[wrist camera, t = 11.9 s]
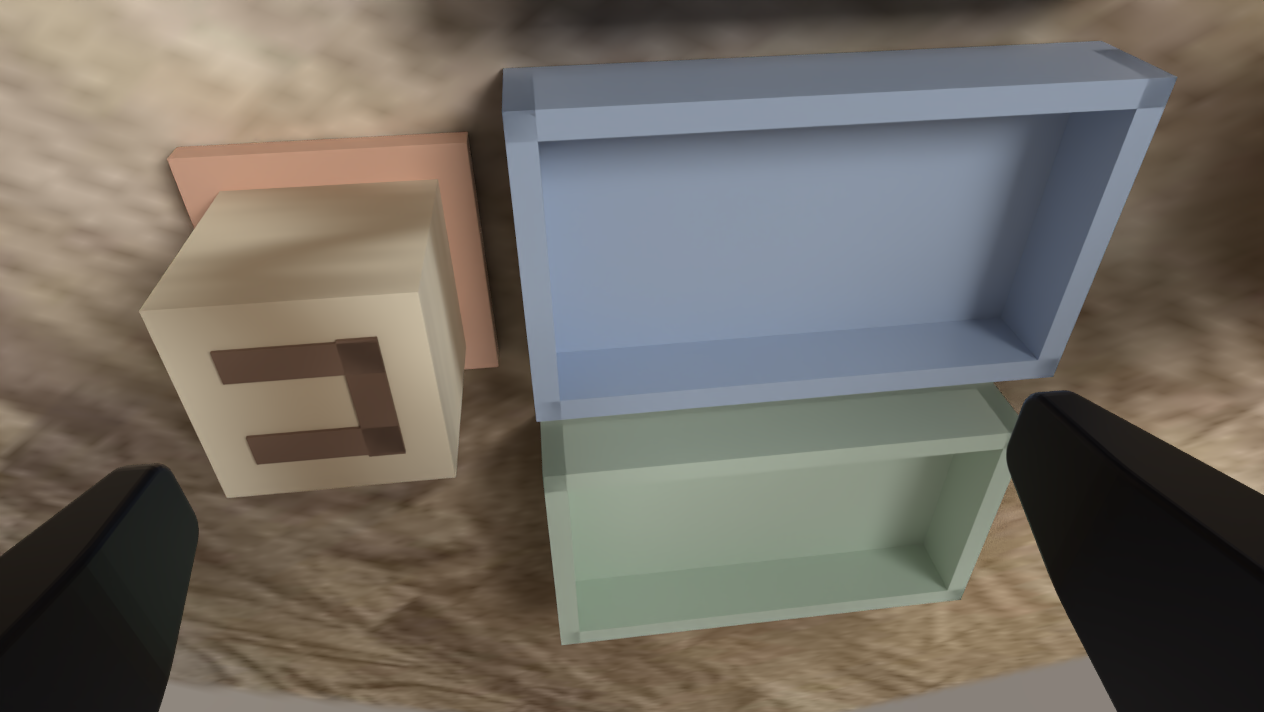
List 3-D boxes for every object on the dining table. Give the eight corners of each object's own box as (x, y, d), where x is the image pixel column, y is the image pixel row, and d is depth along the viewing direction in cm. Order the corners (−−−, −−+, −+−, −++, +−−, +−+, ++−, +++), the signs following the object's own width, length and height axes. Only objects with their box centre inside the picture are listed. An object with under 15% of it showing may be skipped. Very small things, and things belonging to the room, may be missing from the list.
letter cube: (438, 178, 17) (417, 294, 13) (466, 346, 19) (455, 480, 16) (219, 191, 16) (136, 313, 13) (279, 360, 19) (225, 500, 15)
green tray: (986, 373, 23) (1030, 430, 21) (928, 539, 28) (960, 599, 26) (539, 412, 22) (542, 477, 20) (557, 579, 26) (561, 644, 25)
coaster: (468, 131, 17) (466, 142, 16) (498, 352, 20) (498, 366, 20) (177, 147, 16) (167, 159, 16) (262, 371, 20) (256, 386, 19)
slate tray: (1101, 41, 17) (1177, 77, 15) (1004, 321, 22) (1053, 376, 20) (503, 68, 16) (501, 111, 14) (534, 359, 21) (536, 422, 19)
